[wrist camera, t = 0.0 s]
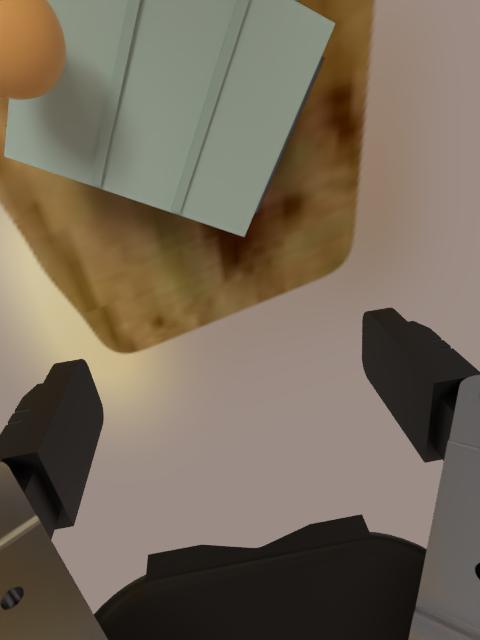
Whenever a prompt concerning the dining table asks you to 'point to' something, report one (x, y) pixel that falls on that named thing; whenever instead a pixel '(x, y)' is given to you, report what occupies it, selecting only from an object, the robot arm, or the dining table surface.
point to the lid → (159, 96)
